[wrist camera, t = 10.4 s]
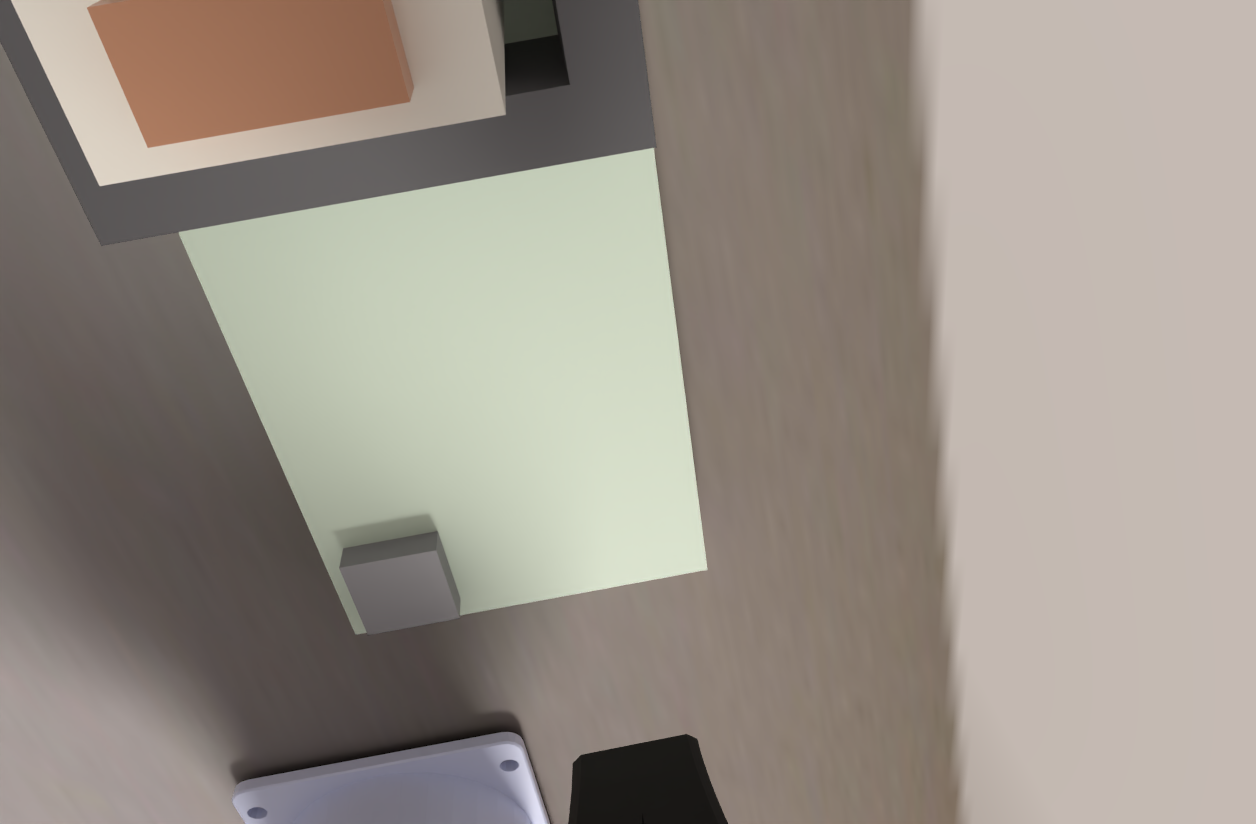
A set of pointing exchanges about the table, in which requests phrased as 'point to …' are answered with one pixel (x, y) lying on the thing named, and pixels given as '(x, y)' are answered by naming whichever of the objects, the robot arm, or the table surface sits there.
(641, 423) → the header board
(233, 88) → the plug
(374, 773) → the robot arm
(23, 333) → the table surface
